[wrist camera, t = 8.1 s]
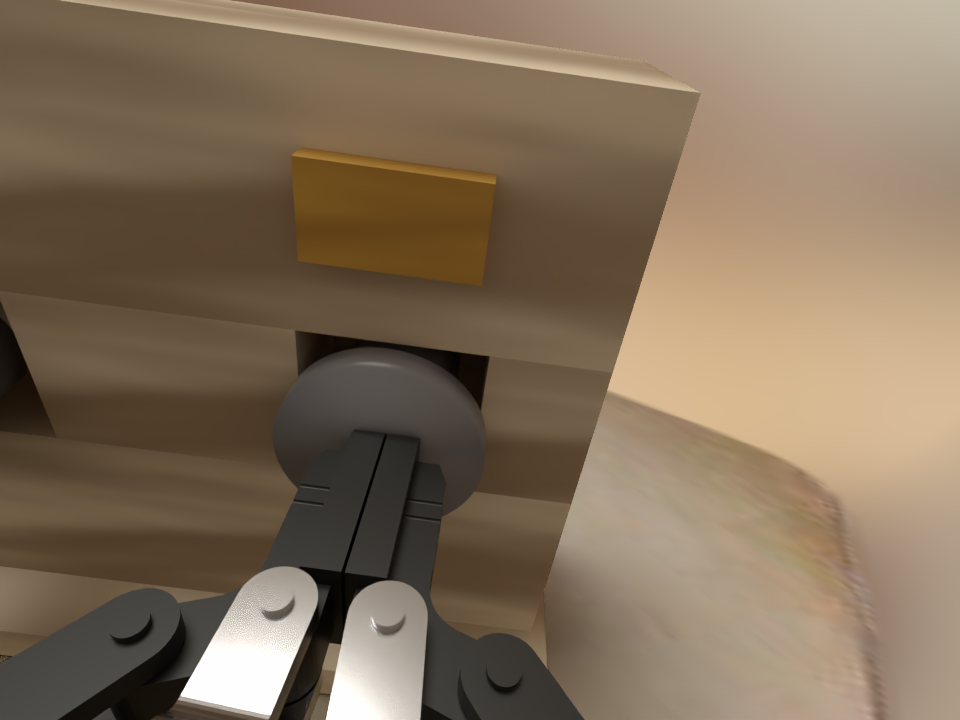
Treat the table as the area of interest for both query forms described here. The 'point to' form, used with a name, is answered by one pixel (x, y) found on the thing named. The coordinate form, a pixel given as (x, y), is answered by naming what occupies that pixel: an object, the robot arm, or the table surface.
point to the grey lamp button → (10, 359)
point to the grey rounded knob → (385, 411)
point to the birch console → (300, 280)
